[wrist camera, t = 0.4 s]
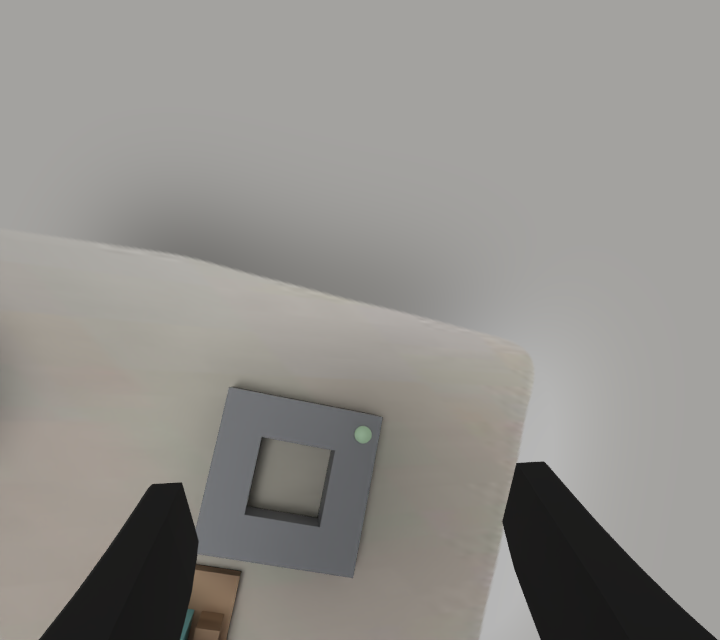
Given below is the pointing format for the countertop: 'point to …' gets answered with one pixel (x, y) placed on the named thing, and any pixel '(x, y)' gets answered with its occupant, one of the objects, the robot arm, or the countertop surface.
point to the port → (279, 529)
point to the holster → (212, 602)
